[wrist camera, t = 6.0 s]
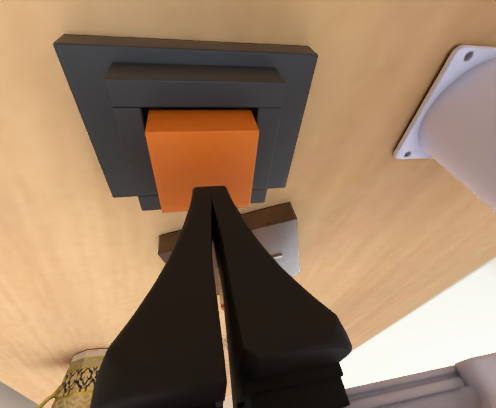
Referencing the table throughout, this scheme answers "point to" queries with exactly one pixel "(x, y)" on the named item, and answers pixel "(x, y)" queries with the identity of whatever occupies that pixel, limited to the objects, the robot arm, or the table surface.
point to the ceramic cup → (78, 381)
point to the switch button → (201, 153)
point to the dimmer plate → (259, 237)
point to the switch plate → (184, 99)
